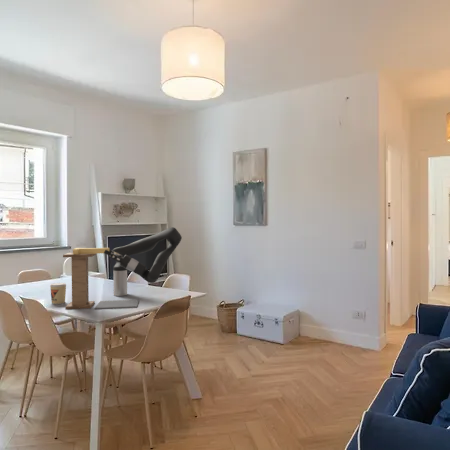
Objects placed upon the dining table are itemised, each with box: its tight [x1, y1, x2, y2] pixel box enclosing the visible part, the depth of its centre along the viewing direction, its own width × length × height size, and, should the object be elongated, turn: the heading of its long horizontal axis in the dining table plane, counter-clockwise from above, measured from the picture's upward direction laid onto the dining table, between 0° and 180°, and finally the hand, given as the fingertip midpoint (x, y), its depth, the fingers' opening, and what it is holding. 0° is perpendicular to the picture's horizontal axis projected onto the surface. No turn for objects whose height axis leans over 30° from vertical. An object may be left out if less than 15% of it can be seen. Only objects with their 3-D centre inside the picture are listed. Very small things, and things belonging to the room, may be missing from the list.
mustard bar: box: [72, 247, 110, 254], centre depth 238 cm, size 10×20×3 cm, turn 99°
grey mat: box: [94, 299, 140, 310], centre depth 240 cm, size 20×24×1 cm
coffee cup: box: [49, 282, 67, 305], centre depth 247 cm, size 9×9×12 cm
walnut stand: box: [62, 252, 97, 310], centre depth 237 cm, size 14×16×32 cm
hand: (105, 250), depth 239 cm, fingers open, 8 cm apart
